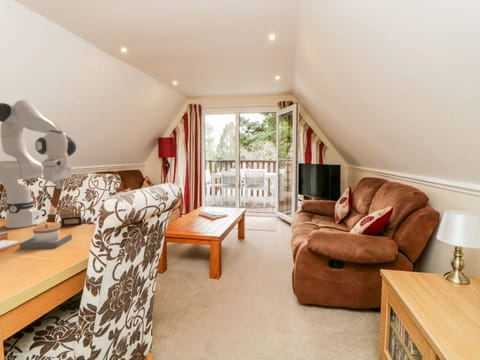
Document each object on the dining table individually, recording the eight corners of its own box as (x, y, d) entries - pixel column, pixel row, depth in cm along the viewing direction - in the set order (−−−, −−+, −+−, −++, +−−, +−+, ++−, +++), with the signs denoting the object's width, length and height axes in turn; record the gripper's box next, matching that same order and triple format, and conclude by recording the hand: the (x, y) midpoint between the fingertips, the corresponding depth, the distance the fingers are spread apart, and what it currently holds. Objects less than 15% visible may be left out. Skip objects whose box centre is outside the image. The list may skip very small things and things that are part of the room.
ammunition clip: (61, 226, 165) (60, 206, 164) (61, 226, 167) (60, 206, 166) (81, 224, 170) (80, 205, 169) (82, 224, 171) (81, 205, 170)
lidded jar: (31, 248, 127) (29, 228, 126) (36, 242, 136) (35, 223, 136) (59, 245, 131) (57, 226, 130) (62, 239, 141) (61, 221, 140)
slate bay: (38, 239, 140) (38, 234, 140) (71, 238, 141) (71, 234, 141) (19, 248, 126) (19, 243, 126) (56, 247, 128) (56, 242, 128)
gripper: (62, 161, 153) (64, 185, 155) (39, 162, 133) (41, 191, 134) (74, 161, 154) (75, 186, 155) (53, 162, 134) (54, 191, 135)
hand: (59, 188), depth 145 cm, fingers closed
